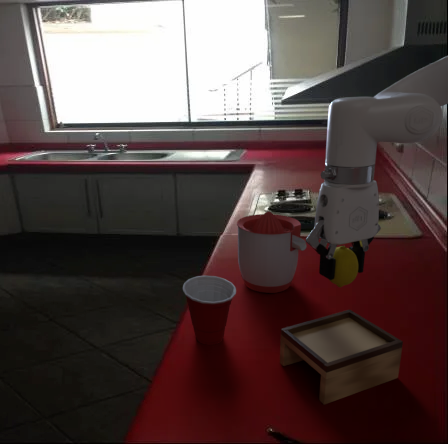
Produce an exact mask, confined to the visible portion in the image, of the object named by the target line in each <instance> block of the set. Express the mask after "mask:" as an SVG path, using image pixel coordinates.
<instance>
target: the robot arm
mask: <svg viewBox="0 0 448 444" xmlns="http://www.w3.org/2000/svg"><path fill="white" fill-rule="evenodd" d="M447 105H448V55H446V56H444V57H442V58H440V59H438V60H436V61H434V62H432V63H429V64H427V65H425V66H423V67H422V68H418V70H416V71H414V72H412V73H410V74H408V75H406V76H405V77H402V78H401V79H399V80H398V81H396V82H394V83H392V84H391V85H390V86H387V87H386V88H385V89H383V90H381V91H380V92H378V93H377V94H375V95H374V96H347V97H339V98H336V99H334V100H332V101H331V103H330V104H329V106H328V113H327V129H326V143H325V145H326V146H325V162H324V170H322V171H321V172H320V178H321V179H322V180H323V182H322V183H321V184H320V188H319V191H318V197H317V201H316V206H315V207H316V208H315V215H314V227H313V229H312V230H311V232H309V234H308V235H307V237H306V238H305V241H306V244H308V245H309V246H310V247H311V248H312V249H313V250H314V251H315V252H316V254H317V255H319V269H318V273H319V275H320V276H322V277H324V278H326V279H328V280H329V281H330V280H333V279H334V277H335V263H336V260H335V259H334V258H333V255H334V252H335V250H336V248H337V247H338V246H342V245H346V244H351V246H349V247H348V249H350V250H352V251H353V252H354V253H355V255H356V257H357V260H358V273H359V274H362V273H363V272H364V267H365V258H366V252H368V251H369V248H370V246H369V245H370V244H371V243H372V242H373V241H374V240H375V239H374V238H375V236H377V234H379V232H380V231H381V229H382V227H381V225H380V224H379V219H380V217H379V216H380V197H379V187H378V182H377V181H376V180H375V179H374V178H375V170H376V169H375V168H376V161H377V148H378V143H379V142H381V143H382V142H383V143H395V144H416V143H419V142H422V141H425V140H427V139H428V138H430V137H432V136H433V135H434V134H435V133H436V132H437V131H438V130H439V129H440V127H441V124H442V122H443V116H444V113H443V109H442V107H443V106H447ZM319 240H320V241H319ZM327 246H328V247H327ZM358 273H357V274H358Z"/></svg>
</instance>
